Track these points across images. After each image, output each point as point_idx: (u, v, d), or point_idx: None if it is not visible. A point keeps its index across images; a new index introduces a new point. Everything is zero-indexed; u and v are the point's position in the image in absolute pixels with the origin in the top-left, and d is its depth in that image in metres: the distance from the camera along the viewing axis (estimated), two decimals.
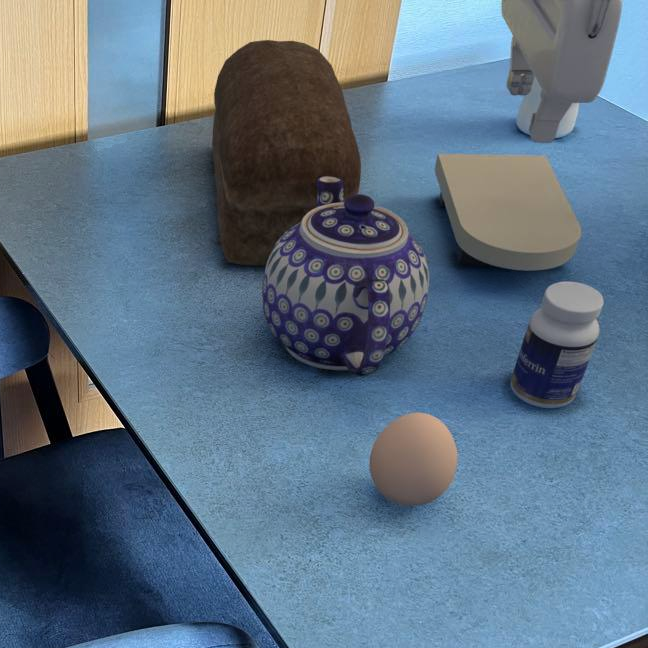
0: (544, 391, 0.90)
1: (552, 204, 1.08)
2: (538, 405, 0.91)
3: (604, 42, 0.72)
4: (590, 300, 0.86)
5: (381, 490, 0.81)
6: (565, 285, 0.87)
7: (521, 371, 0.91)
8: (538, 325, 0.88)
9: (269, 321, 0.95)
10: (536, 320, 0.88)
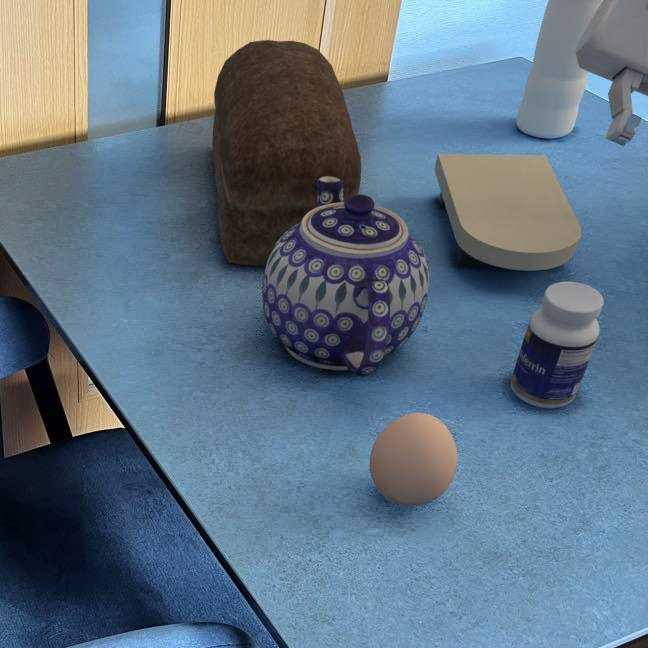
0: (544, 391, 0.90)
1: (552, 204, 1.08)
2: (538, 405, 0.91)
3: None
4: (590, 300, 0.86)
5: (381, 490, 0.81)
6: (565, 285, 0.87)
7: (521, 371, 0.91)
8: (538, 325, 0.88)
9: (269, 321, 0.95)
10: (536, 320, 0.88)
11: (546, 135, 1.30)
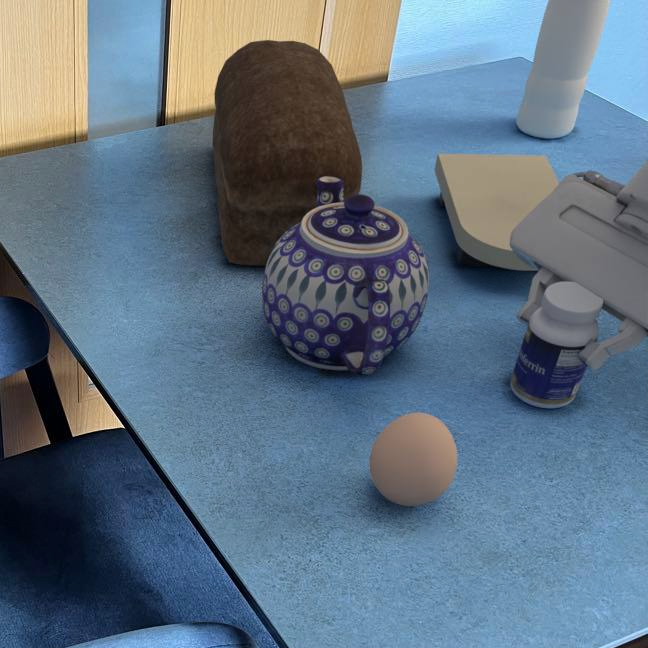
0: (544, 391, 0.90)
1: None
2: (538, 405, 0.91)
3: None
4: (590, 300, 0.86)
5: (381, 490, 0.81)
6: (564, 285, 0.87)
7: (521, 371, 0.91)
8: (538, 325, 0.88)
9: (269, 321, 0.95)
10: (536, 320, 0.88)
11: (546, 135, 1.30)
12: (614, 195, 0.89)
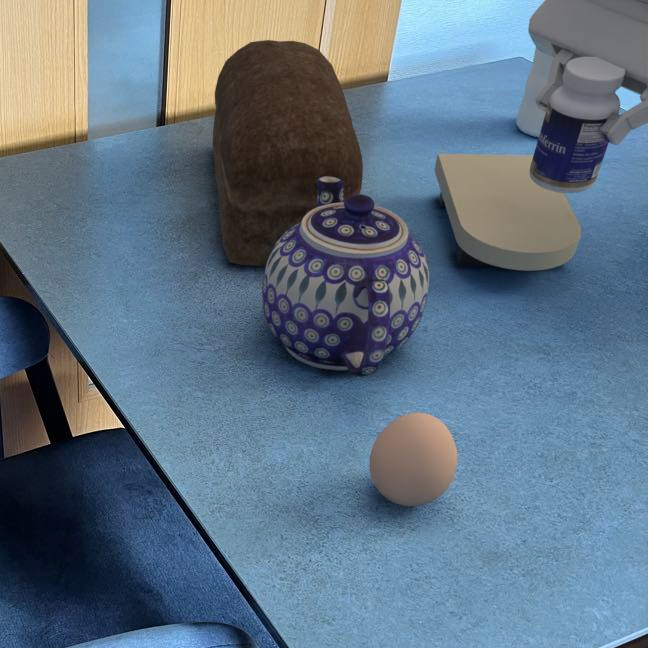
0: (564, 172, 0.89)
1: (552, 204, 1.08)
2: (558, 190, 0.91)
3: None
4: (612, 70, 0.85)
5: (381, 490, 0.81)
6: (585, 59, 0.87)
7: (541, 154, 0.90)
8: (559, 100, 0.87)
9: (269, 321, 0.95)
10: (557, 96, 0.87)
11: None
12: None
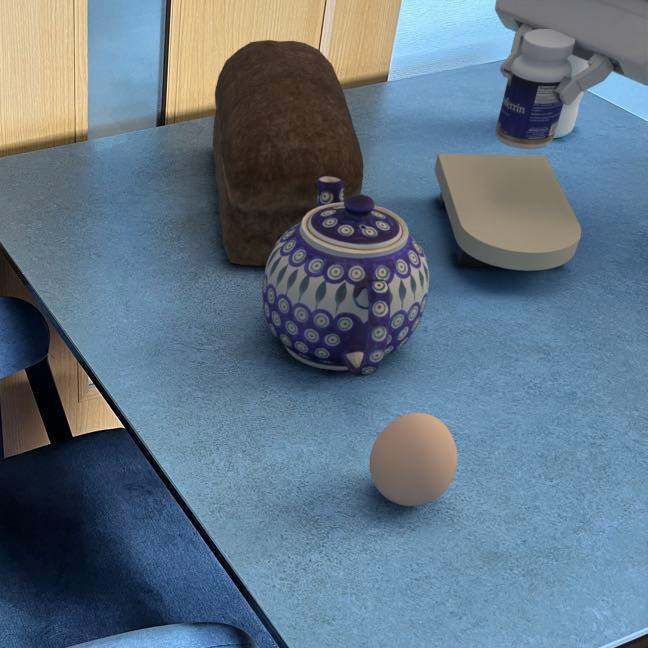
0: (524, 130, 1.02)
1: (552, 204, 1.08)
2: (519, 146, 1.03)
3: None
4: (564, 39, 0.98)
5: (381, 490, 0.81)
6: (542, 31, 1.00)
7: (504, 115, 1.03)
8: (518, 66, 1.00)
9: (269, 321, 0.95)
10: (517, 63, 1.00)
11: None
12: None
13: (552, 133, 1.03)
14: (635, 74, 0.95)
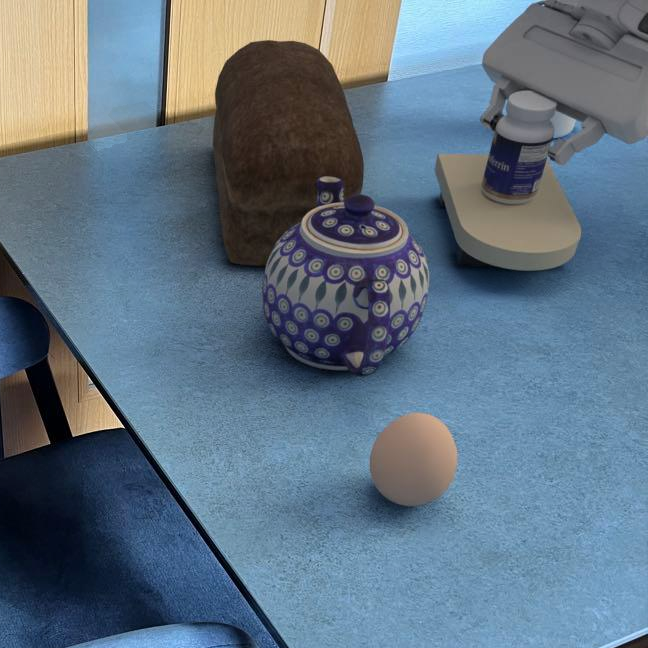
0: (509, 187, 1.06)
1: (552, 204, 1.08)
2: (504, 201, 1.08)
3: None
4: (546, 102, 1.02)
5: (381, 490, 0.81)
6: (525, 93, 1.04)
7: (490, 171, 1.07)
8: (503, 127, 1.04)
9: (269, 321, 0.95)
10: (501, 123, 1.04)
11: None
12: (570, 15, 1.04)
13: (535, 189, 1.07)
14: (618, 133, 0.98)
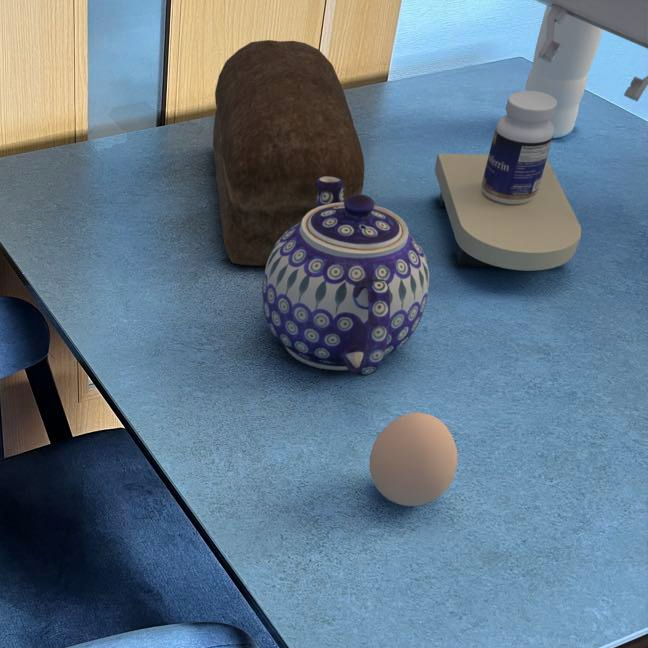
0: (509, 186, 1.06)
1: (552, 204, 1.08)
2: (504, 201, 1.08)
3: None
4: (546, 102, 1.02)
5: (381, 490, 0.81)
6: (525, 93, 1.04)
7: (489, 171, 1.07)
8: (502, 126, 1.04)
9: (269, 321, 0.95)
10: (501, 123, 1.04)
11: None
12: None
13: (535, 189, 1.07)
14: None
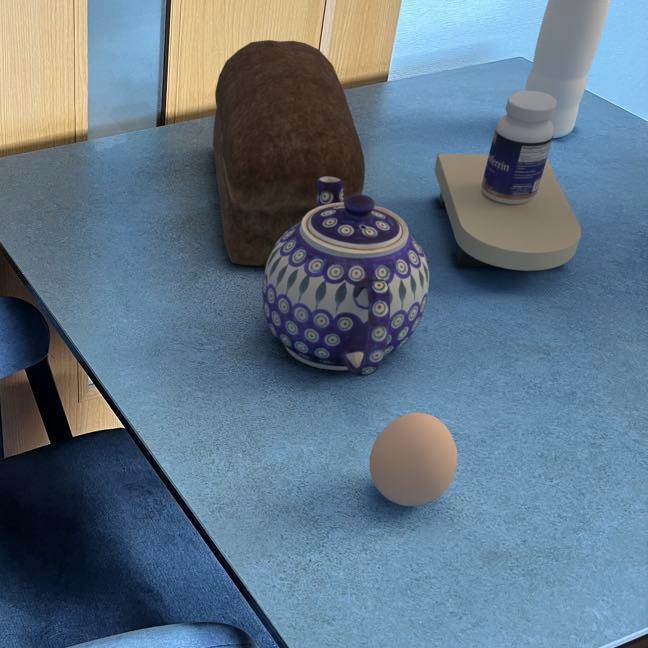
0: (509, 186, 1.06)
1: (552, 204, 1.08)
2: (504, 201, 1.08)
3: None
4: (546, 102, 1.02)
5: (381, 490, 0.81)
6: (525, 93, 1.04)
7: (489, 171, 1.07)
8: (502, 126, 1.04)
9: (269, 321, 0.95)
10: (501, 123, 1.04)
11: None
12: None
13: (535, 189, 1.07)
14: None
